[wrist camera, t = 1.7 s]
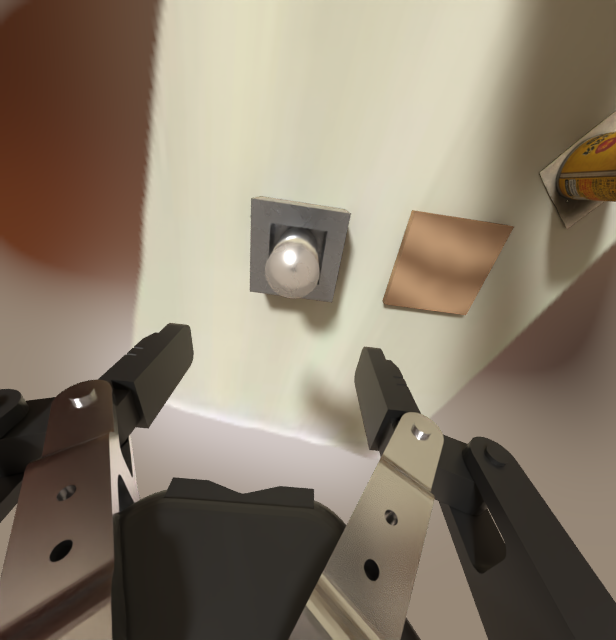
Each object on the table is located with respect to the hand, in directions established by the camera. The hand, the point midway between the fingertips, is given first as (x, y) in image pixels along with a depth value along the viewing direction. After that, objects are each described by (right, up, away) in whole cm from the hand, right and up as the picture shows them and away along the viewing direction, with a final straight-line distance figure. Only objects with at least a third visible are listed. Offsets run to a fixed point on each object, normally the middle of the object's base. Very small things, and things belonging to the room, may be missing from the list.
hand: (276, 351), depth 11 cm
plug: (0, +11, +18) cm, 21 cm away
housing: (0, +11, +19) cm, 22 cm away
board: (+19, +9, +20) cm, 29 cm away
